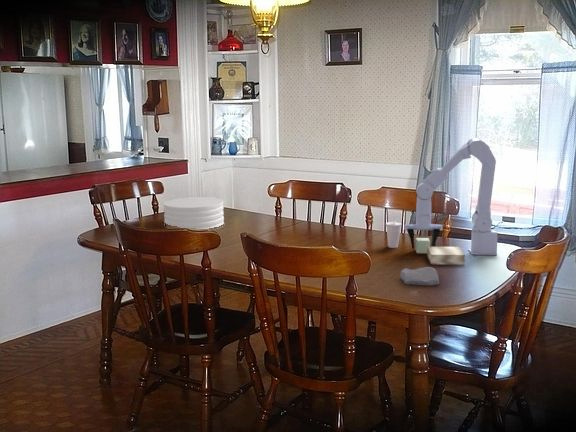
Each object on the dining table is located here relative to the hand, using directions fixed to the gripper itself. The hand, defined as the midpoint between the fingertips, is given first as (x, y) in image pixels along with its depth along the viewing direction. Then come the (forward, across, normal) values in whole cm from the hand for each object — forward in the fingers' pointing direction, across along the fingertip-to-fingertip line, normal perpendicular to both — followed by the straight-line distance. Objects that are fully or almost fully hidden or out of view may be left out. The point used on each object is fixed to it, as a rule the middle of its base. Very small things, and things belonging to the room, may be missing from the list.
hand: (422, 248), depth 255 cm
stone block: (+2, +5, +39) cm, 40 cm away
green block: (+2, 0, 0) cm, 2 cm away
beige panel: (+2, -7, +12) cm, 14 cm away
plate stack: (+2, +102, -46) cm, 112 cm away
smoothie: (+2, +11, -7) cm, 13 cm away
